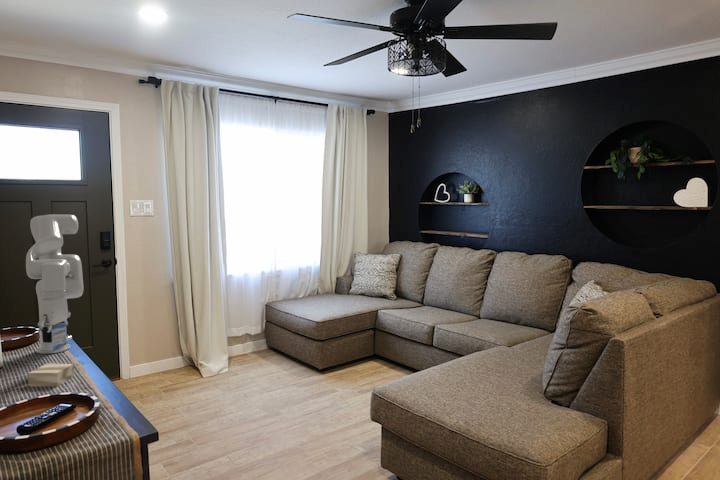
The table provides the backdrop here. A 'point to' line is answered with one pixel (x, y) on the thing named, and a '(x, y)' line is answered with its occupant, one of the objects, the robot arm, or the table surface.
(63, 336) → the medicine box
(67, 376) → the wooden block
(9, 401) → the table surface
